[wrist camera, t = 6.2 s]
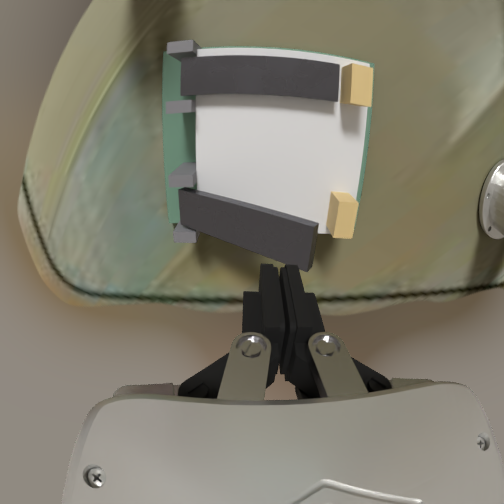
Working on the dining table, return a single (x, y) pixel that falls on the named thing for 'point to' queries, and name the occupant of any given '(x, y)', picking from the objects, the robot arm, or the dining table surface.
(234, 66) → the strap
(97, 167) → the dining table surface
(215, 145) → the board
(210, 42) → the dining table surface
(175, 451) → the robot arm
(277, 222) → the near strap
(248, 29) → the dining table surface
